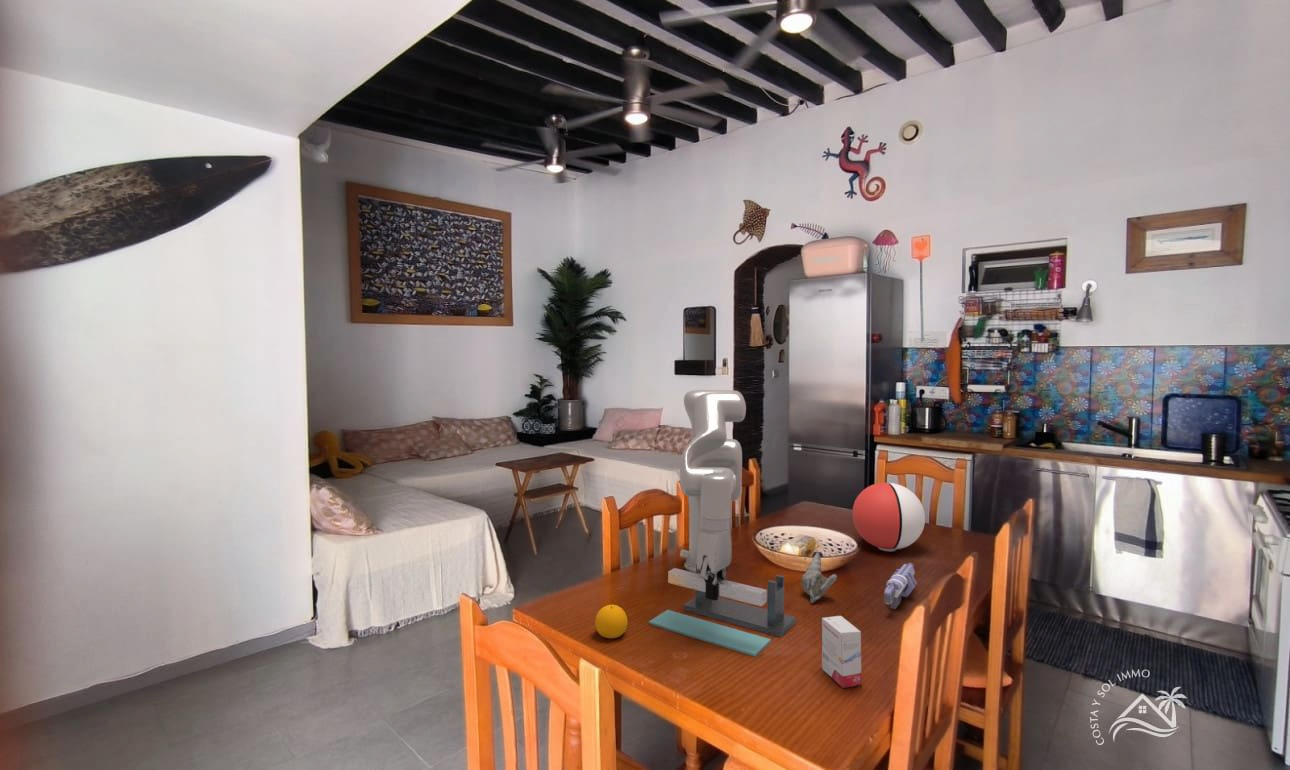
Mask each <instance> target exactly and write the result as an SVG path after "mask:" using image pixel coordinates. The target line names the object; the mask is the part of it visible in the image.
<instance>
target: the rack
mask: <svg viewBox="0 0 1290 770" xmlns="http://www.w3.org/2000/svg"><path fill="white" fill-rule="evenodd" d="M709 570H711V569H709ZM696 573H697V574H701V571H699V570H698V569H697V564H696ZM709 575H710V576H712V577H713V574H709ZM683 611H686V612H689V613H693V614H696V615H700V616H703V617H707V618H710V619H714V620H718V621H721V622H724V623H728V624H732V625H735V626H739V627H743V628H746V629H749V630H753V631H757V632H759V633H764V634H768V635H771V636H774V637H778V638H782V637H783V636H784V635H785V634H786V633H787V632H789V630H790V629H791V628H792V627H793V626H794V625H795V624H797V617H796V616H794V615H793V616H792V615H788V614H785V575H781V574H776V575H775V578H774V580H771V579H769V580H768V581H767V608H763V607H762V608H761V607H759V606H758V607H757V606H756V605H755V606H754V605H752V604H751V605H750V604H748V603H744V602H743V603H742V602H740V601H739V602H738V601H736V600H732V599H727V598H725V597H721V596H718V600H717V601H715V600H711V599H707V598H706V597H705V592H703V591H699V590H695V596H694V598H692V599H691V600H689V601H687V602H685V603H684V604H683Z"/></svg>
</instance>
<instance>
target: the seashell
mask: <svg viewBox="0 0 1290 770" xmlns="http://www.w3.org/2000/svg"><path fill="white" fill-rule="evenodd" d="M821 556H822V555H821V551H816V552H815V555H814V556H813V557H812V559H811V561H810V563H809V566H807V567H806V569H805V573H804V574H803V575H802V578H801V587H802V589H803V591H804V592H805V594H807V595H808V596H809V597H810V604H814V603H815V602H816V601H817V600H819V599H821V598H822V597H824V595H826V593H827V591H828V589H829V588H831V586H832V585H834V584H835V581H837V578H838V575H837V574H835V573H834V574H832V575H829V577H828V578H827V577H825V576H824V575H823V574H822V563H821V562H822V560H821V559H822V558H821Z"/></svg>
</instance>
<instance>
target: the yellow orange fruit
mask: <svg viewBox="0 0 1290 770" xmlns="http://www.w3.org/2000/svg"><path fill="white" fill-rule="evenodd" d="M594 623H595V628H596V631H597V632H598V634H599V635H600V636H602V637H603V638H606V639H617V638H619V637H622V635H624V633H625V632H626V630H627V627H628V617H627V614H626V612H625V610H624V609H623V607H620V606H618V605H617V604H606V605H605V606H603V607H602V608H600V610H599V611H598V612H597V614H596V616H595V622H594Z"/></svg>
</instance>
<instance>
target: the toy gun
mask: <svg viewBox="0 0 1290 770" xmlns="http://www.w3.org/2000/svg"><path fill="white" fill-rule="evenodd" d="M915 572H916V571H915V566H914V564H913V563H912V562H909V563H903V565H902V566H901V567H900V568H899V569H898V568H897V569H895V571H894V572H893V574H892V575H891V577H890V578H889V579H888V580H887V582H886V587H885V589H884V599H883V600H884V602H883V603H884V604H886V605H890V609H892V610H896V609H897V607H899V605H900V604H901V601H902V597H904V598H908V597H909V595H910V594H911V593H912V591H913V590H914V588H915V587H916V586H917V584H918V583H917V581H916V579H915V577H914V575H915Z"/></svg>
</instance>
